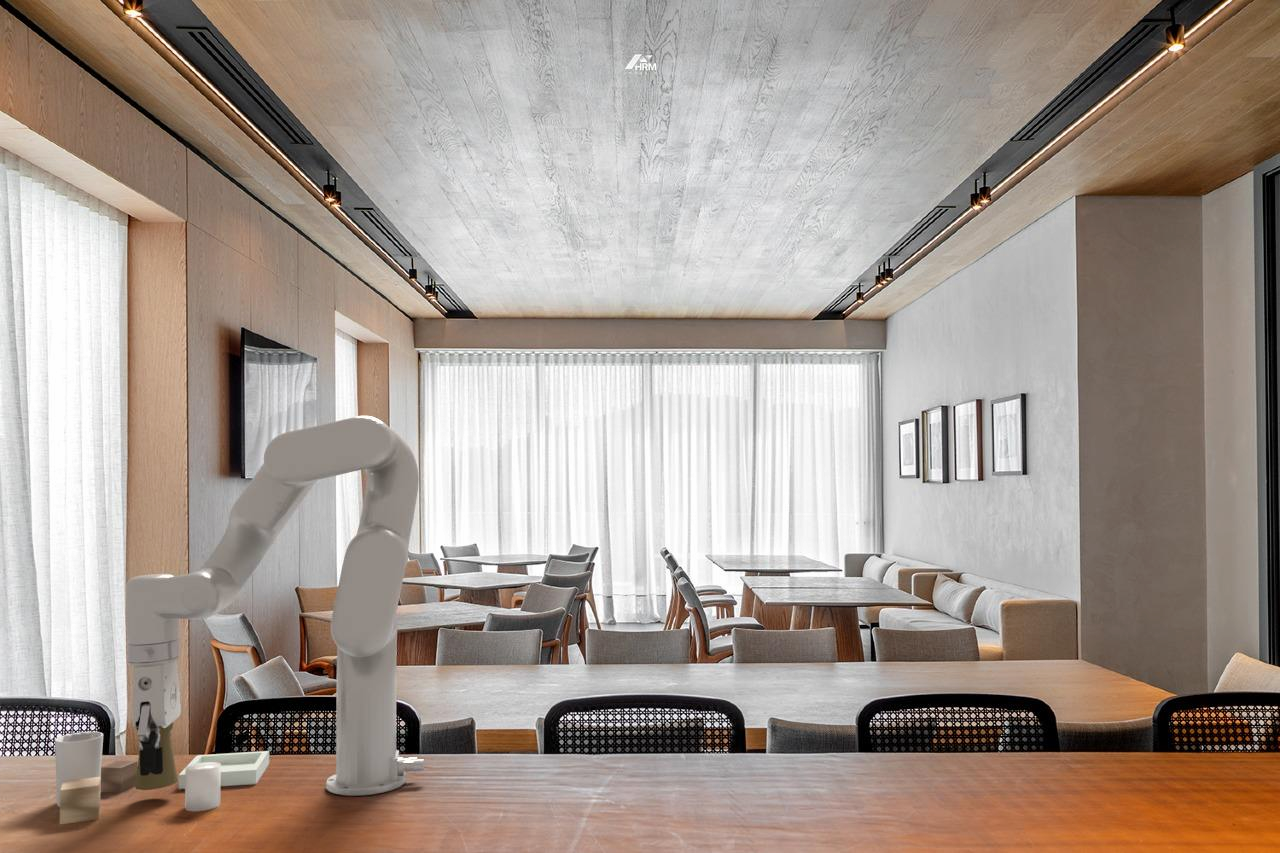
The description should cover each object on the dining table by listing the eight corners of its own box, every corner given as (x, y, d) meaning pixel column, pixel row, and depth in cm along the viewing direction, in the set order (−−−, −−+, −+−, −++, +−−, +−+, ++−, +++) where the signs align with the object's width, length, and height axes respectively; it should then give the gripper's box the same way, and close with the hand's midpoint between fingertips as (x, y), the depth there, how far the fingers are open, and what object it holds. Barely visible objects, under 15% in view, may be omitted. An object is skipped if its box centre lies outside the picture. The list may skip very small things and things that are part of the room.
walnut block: (137, 785, 164) (137, 761, 164) (120, 793, 160) (121, 768, 161) (115, 784, 165) (115, 760, 165) (98, 792, 161) (99, 767, 161)
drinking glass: (112, 797, 158) (113, 733, 159) (75, 810, 152) (77, 743, 152) (80, 793, 160) (81, 730, 161) (43, 806, 154) (44, 740, 154)
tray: (269, 764, 176) (269, 750, 176) (256, 783, 164) (256, 769, 164) (196, 768, 173) (197, 755, 173) (178, 789, 162) (178, 774, 162)
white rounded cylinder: (223, 799, 156) (223, 761, 156) (216, 810, 151) (216, 769, 151) (189, 802, 155) (190, 763, 155) (181, 812, 150) (181, 772, 150)
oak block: (100, 809, 152) (100, 776, 152) (98, 819, 148) (99, 785, 148) (62, 815, 150) (63, 781, 150) (59, 825, 145) (60, 790, 146)
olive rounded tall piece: (160, 790, 153) (158, 718, 153) (126, 789, 154) (124, 718, 155) (186, 778, 159) (184, 708, 159) (152, 777, 160) (151, 708, 161)
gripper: (164, 660, 150) (167, 783, 149) (192, 643, 166) (195, 753, 165) (110, 664, 149) (112, 788, 148) (144, 646, 165) (146, 758, 164)
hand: (156, 768), depth 157 cm, fingers closed on olive rounded tall piece, 4 cm apart
